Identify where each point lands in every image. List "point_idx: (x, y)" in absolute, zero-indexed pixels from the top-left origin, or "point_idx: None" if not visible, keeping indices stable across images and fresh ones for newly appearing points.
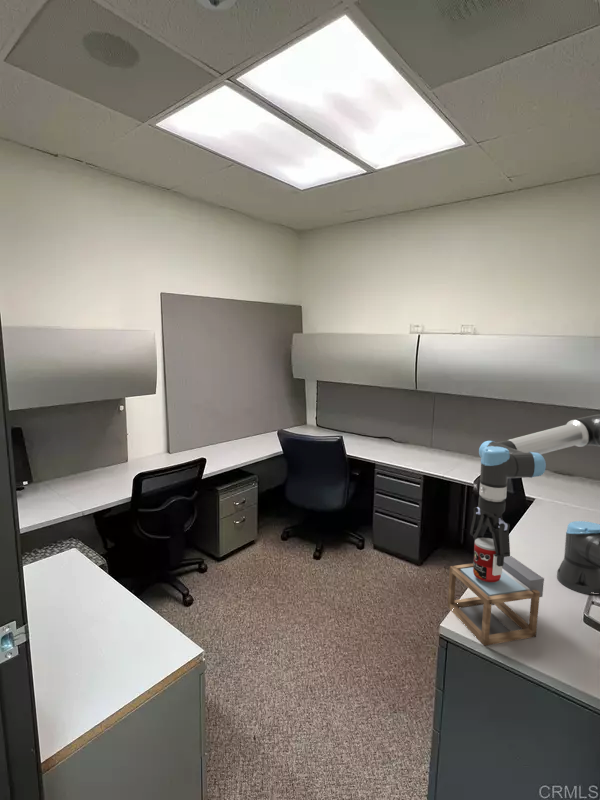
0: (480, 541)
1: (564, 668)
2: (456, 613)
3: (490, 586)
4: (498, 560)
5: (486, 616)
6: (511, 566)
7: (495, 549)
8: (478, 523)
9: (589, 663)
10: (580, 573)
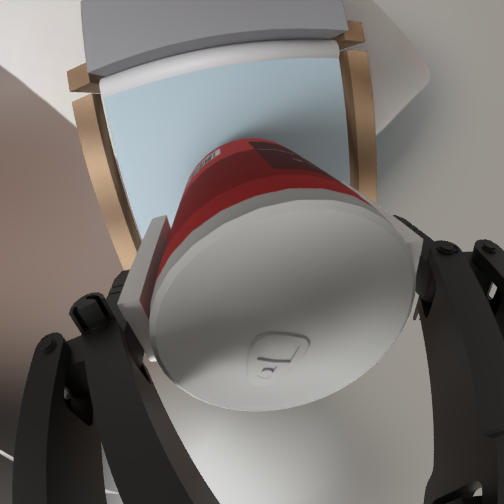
0: (223, 373)
1: (390, 70)
2: None
3: None
4: None
5: None
6: (193, 35)
7: (427, 331)
8: (70, 481)
9: (380, 14)
10: None
